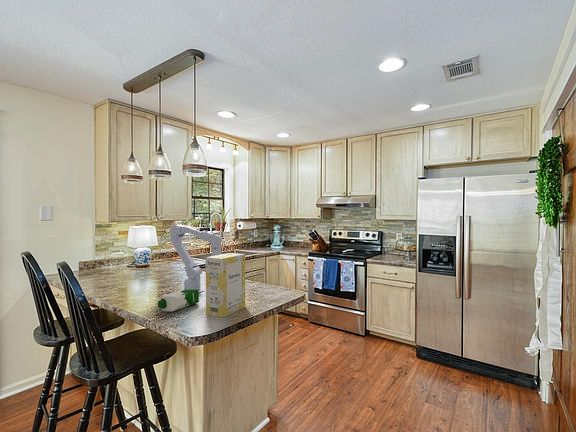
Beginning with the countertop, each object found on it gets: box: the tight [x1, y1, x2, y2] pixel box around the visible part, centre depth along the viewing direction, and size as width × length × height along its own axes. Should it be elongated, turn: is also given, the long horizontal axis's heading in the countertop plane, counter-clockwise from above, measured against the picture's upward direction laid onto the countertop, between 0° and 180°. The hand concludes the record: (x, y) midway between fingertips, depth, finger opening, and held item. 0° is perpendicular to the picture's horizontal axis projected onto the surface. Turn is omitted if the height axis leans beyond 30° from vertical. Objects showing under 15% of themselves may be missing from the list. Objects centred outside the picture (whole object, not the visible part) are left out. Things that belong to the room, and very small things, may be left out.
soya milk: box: [157, 289, 200, 312], centre depth 155 cm, size 9×9×20 cm
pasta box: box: [205, 252, 246, 318], centre depth 151 cm, size 18×10×28 cm, turn 152°
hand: (217, 276), depth 184 cm, fingers closed
